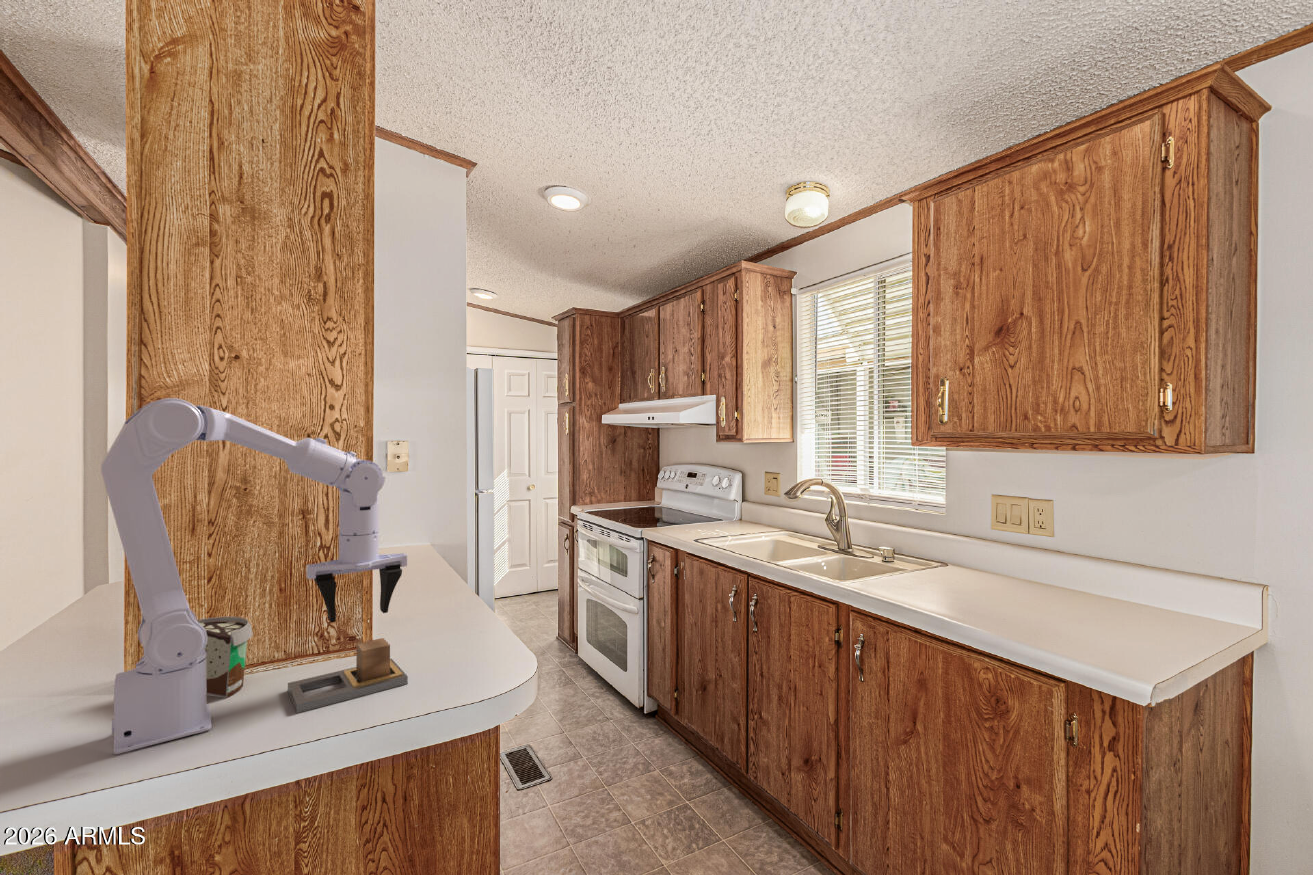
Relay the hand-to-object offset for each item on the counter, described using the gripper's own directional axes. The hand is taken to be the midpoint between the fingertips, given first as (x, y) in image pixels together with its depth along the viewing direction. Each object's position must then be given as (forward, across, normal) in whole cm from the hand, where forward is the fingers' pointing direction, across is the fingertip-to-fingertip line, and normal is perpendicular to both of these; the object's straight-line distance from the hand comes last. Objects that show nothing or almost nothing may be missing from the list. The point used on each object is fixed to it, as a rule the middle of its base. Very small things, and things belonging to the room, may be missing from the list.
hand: (358, 615), depth 93 cm
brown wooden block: (+10, +1, -4) cm, 11 cm away
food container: (+10, -17, +9) cm, 22 cm away
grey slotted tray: (+10, -2, -4) cm, 11 cm away
